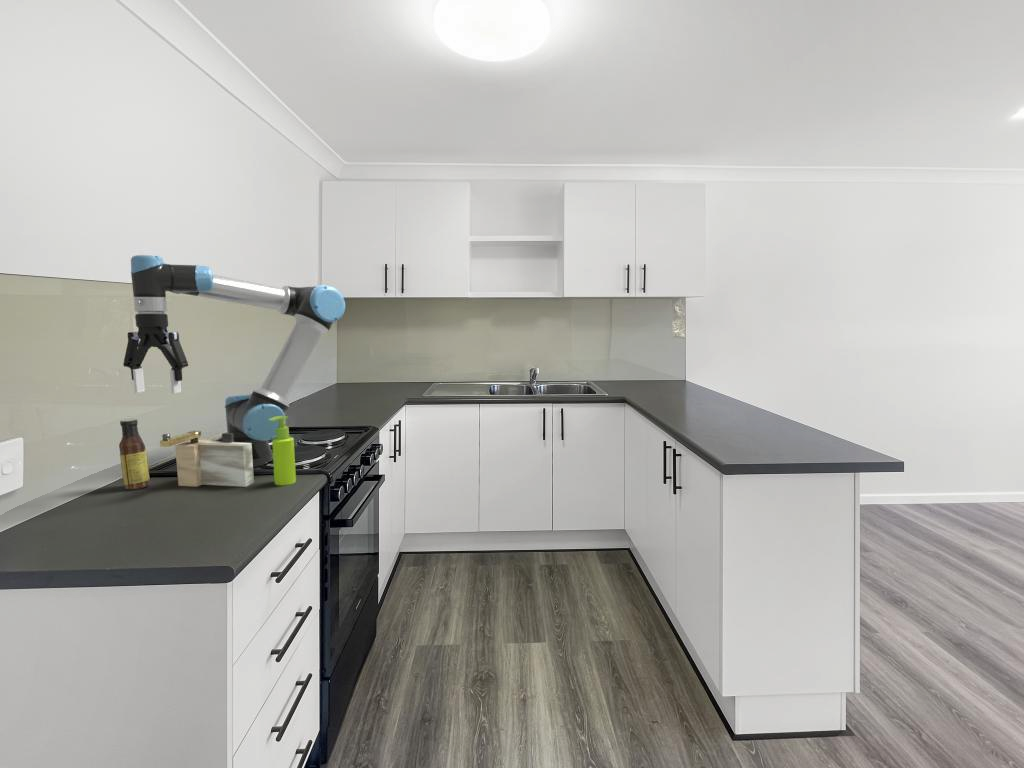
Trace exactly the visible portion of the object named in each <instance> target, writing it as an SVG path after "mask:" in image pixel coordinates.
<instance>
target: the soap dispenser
mask: <svg viewBox="0 0 1024 768" xmlns="http://www.w3.org/2000/svg"><path fill="white" fill-rule="evenodd" d="M285 419H289V416H287V415H285V416H276V417H273V418H271V419H269V421H276V420H279V426H278V427H277V428H276V435H277V437H275V438H273V439H271V441H272V442H271V443H272V453H273V461H272V462H273V476H274V477H273V478H274V485H276V486H290V485H292V484H295V483H296V482H297V477H296V476H297V473H296V471H297V470H296V459H295V439H294V437H290V430H289V429H290V428H289V426H287V425H286V424H285Z"/></svg>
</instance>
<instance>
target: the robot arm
mask: <svg viewBox="0 0 1024 768" xmlns="http://www.w3.org/2000/svg"><path fill="white" fill-rule="evenodd" d="M130 275H131V284H132V293H133V294H132V295H133V305H134V311H135V313H136V314H135V316H134V317H135V318H134V319H135V326H136V327H137V328H138V329H137V331H130V332H129V331H128V332H127V344H126V345H127V346H126V350H125V355H124V358H123V367H125V368H129V369H130V375H131V380H132V381H133V387H134V393H135V394H136V393H138V394H139V393H143V392H145V391H146V388H145V378H144V368H143V367H142V363H143V362H144V360H145V358H146V356H147V353H148V351H149V350H150V349H151V348H157V350H160V351H161V353H162V355H163V356H164V358H165V359H166V360H167V362H168V364H169V366H170V367H171V369H169V373H170V374H169V375H170V376H169V377H170V386H171V394H178V393H182V384H181V383H182V382H181V381H183V372H182V371H183V369H184V368H187V367H188V366H189V362H188V360H187V357H186V355H185V352H184V349H183V347H182V345H181V341H180V334H179V332H177V331H172V332H171V331H170V332H169V331H168V329H167V328H168V327H169V319H168V314H167V313H166V312H168V305H167V304H168V302H167V297H166V295H167V293H166V292H169V293H170V292H171V293H173V294H177V295H179V294H180V295H181V294H183V295H188V296H193V297H201V298H207V299H213V300H218V301H223V302H224V301H225V302H230V303H235V304H242V305H246V306H254V307H260V308H264V309H269V310H275V311H278V312H279V313H280V314H281V315H287V316H290V317H291V316H292V317H294V318H295V320H296V323H295V324H294V326H293V328H292V330H291V332H290V333H289V335H288V337H287V339H286V341H285V343H284V344H283V346H282V348H281V350H280V352H279V353H278V356H277V357H276V359H275V361H274V362H273V366H272V367H271V369H270V371H269V372H268V374H267V376H266V378H265V380H264V382H263V384H262V385H261V387H260V388H257V389H254V390H253V391H252V393H251V394H250V393H249V394H244V395H243V394H242V395H241V394H240V395H233V396H232V395H230V396H227V397H226V399H225V405H224V408H225V418H226V420H225V421H226V433H233V436H234V442H238V443H252V459H253V468H257V467H261V466H262V467H263V466H265V465H266V464H265V463H266V462H269V461H271V460H272V459H273V450H272V449H271V448H272V447H271V446H270V444H269V441H270V440H271V441H272V440H273V439H275V438H277V435H276V428H277V427H278V426H279V420H276V421H269V419H271V418H273V417H276V416H286V413H287V412H288V409H290V405H289V401H288V400H289V397H290V395H291V393H292V391H293V389H294V387H295V385H296V384H297V382H298V379H300V378H299V377H300V376H301V374H302V372H303V371H304V368H305V366H306V364H307V363H308V361H309V359H310V357H311V356H312V353H313V351H314V349H315V348H316V345H317V344H318V342H319V340H320V338H321V336H322V335H324V334H327V333H329V332H330V329H331V328H332V325H333V324H334V322H337V321H338V320H339V319H341V318H342V317H343V316H344V314H345V310H346V301H345V298H344V296H343V294H342V293H341V292H340V291H339V290H338V289H337V288H335V287H333V286H330V285H327V284H326V285H323V284H322V285H317V286H304V287H302V286H300V287H295V286H288V285H283V286H282V287H278V286H273V285H267V284H262V283H259V282H252V281H248V280H243V279H238V278H232V277H227V276H222V275H217V274H214V273H213V271H212V269H211V268H210V267H209V266H205V265H198V264H196V265H195V264H193V265H192V264H169V263H165V262H164V258H162V256H159V255H150V254H148V255H147V254H146V255H145V254H138V255H133V256H132V257H130ZM286 419H287V418H286ZM286 419H285V425H286V423H287V422H286V421H287V420H286ZM264 464H265V465H264Z"/></svg>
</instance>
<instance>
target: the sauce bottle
mask: <svg viewBox="0 0 1024 768" xmlns="http://www.w3.org/2000/svg"><path fill="white" fill-rule="evenodd" d="M119 424H120V426H121V431H122V433H121V435H122V437H121V440H120V441H119V444H118V446H119V447H118V448H119V459H120V465H121V472H122V479H123V485H124V488H125V489H126V490H130V491H133V490H139V489H140V490H141V489H144V488H146V487H149V486H150V473H149V471H150V470H149V465H148V464H149V463H148V456H147V448H146V444H145V443H144V441H143V439H142V437H141V436H140V433H139V428H138V424H139V421H138V419H137V418H125V419H122V420H120V421H119Z"/></svg>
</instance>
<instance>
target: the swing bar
mask: <svg viewBox="0 0 1024 768" xmlns="http://www.w3.org/2000/svg"><path fill="white" fill-rule="evenodd" d="M161 437H162V440H161V439H160V440H159V443H160V444H159V447H163V448H164V447H165V448H166V447H168V448H169V447H172V446H174V445H178V444H181V443H185V442H188V441H190V440H191V439H194V438H198V439H199V438H200V437H202V431H201V430H190V431H187V432H184V433H182V434H178V435H175V436H174V435H173V436H171V433H163V434H161Z"/></svg>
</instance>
